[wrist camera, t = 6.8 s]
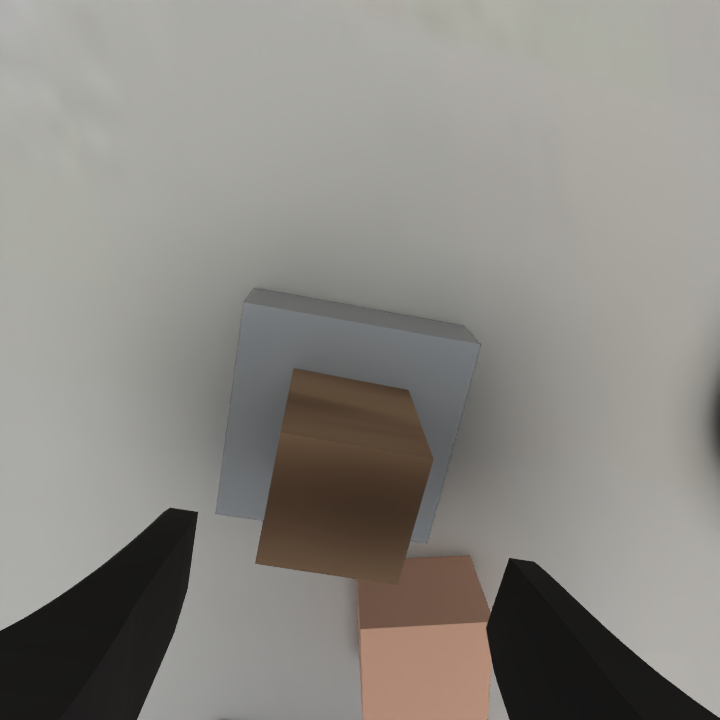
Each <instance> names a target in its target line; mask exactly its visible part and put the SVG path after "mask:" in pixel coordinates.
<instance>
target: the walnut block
mask: <svg viewBox="0 0 720 720" xmlns="http://www.w3.org/2000/svg"><path fill="white" fill-rule="evenodd" d="M433 460H434V459H433V456H432V453H431V451H430V448H429V445H428V442H427V440H426V437H425V434H424V431H423V429H422V426H421V423H420V420H419V418H418V415H417V412H416V409H415V407H414V404H413V401H412V398H411V396H410V393H409V390H406V389H401V388H396V387H390V386H385V385H380V384H375V383H369V382H364V381H359V380H354V379H348V378H343V377H338V376H333V375H327V374H322V373H317V372H312V371H306V370H301V369H296V368H294V369H293V374H292V379H291V384H290V389H289V394H288V398H287V403H286V408H285V413H284V418H283V423H282V428H281V432H280V438H279V443H278V448H277V453H276V458H275V463H274V469H273V474H272V479H271V484H270V489H269V495H268V500H267V505H266V510H265V515H264V520H263V526H262V531H261V536H260V541H259V546H258V551H257V557H256V562H255V564H261V565H267V566H274V567H281V568H287V569H294V570H301V571H307V572H314V573H321V574H327V575H334V576H341V577H347V578H354V579H361V580H367V581H374V582H381V583H387V584H394V585H398V581H399V578H400V574H401V571H402V568H403V564H404V561H405V557H406V554H407V550H408V547H409V543H410V540H411V536H412V533H413V529H414V526H415V522H416V519H417V515H418V512H419V508H420V505H421V502H422V498H423V495H424V491H425V488H426V484H427V481H428V477H429V474H430V470H431V467H432V463H433Z"/></svg>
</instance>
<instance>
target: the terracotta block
mask: <svg viewBox="0 0 720 720" xmlns="http://www.w3.org/2000/svg"><path fill="white" fill-rule="evenodd" d="M357 604H358V636H359V660H360V678H361V696H362V713H363V720H488V709H489V693H490V677H491V661H492V659H491V654H490V649H489V643H488V638H487V632H486V626H487V623H488V620H489V617H490V614H491V613H490V610H489V607H488V604H487V602H486V599H485V596H484V593H483V591H482V588H481V585H480V582H479V580H478V577H477V574H476V572H475V569H474V566H473V563H472V561H471V558H470V555H467V556H448V557H428V558H408V559H405V561H404V564H403V568H402V571H401V574H400V578H399V581H398V585H394V584H387V583H381V582H374V581H367V580H361V579H357Z"/></svg>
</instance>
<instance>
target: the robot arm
mask: <svg viewBox="0 0 720 720" xmlns="http://www.w3.org/2000/svg"><path fill="white" fill-rule="evenodd" d="M197 516H198V512H194V511H188V510H181V509H174V508H169V509H168V510H166V511H164V512H163V513H162V514H161V515H160V516H159V517H158V518H157V519H156V520H155V521H154V522H153V523H152V524H151V525H149V526H148V527H147V528H146V529H145V530H144V531H143V532H142V533H141V534H139V535H138V536H137V537H136V538H135V539H134V540H133V541H131V542H130V543H129V544H128V545H127V546H125V547H124V548H123V549H122V550H121V551H119V552H118V553H117V554H116V555H115V556H113V557H112V558H111V559H110V560H108V561H107V562H106V563H105V564H103V565H102V566H101V567H99V568H98V569H97V570H95V571H94V572H93V573H91V574H90V575H89V576H87V577H86V578H84V579H83V580H82V581H80V582H79V583H78V584H76V585H75V586H74V587H72V588H71V589H69V590H68V591H66V592H65V593H63V594H62V595H60V596H59V597H57V598H56V599H54V600H53V601H51V602H50V603H48V604H47V605H45V606H43V607H42V608H40V609H38V610H37V611H35V612H34V613H32V614H30V615H29V616H27V617H25V618H24V619H22V620H20V621H18V622H16V623H14V624H12V625H11V626H9V627H7V628H5V629H3V630H1V631H0V720H137V718H138V716H139V713H140V711H141V709H142V706H143V704H144V702H145V699H146V697H147V695H148V693H149V690H150V688H151V686H152V683H153V681H154V679H155V676H156V674H157V672H158V669H159V667H160V665H161V662H162V660H163V658H164V655H165V653H166V651H167V648H168V646H169V644H170V641H171V639H172V636H173V634H174V631H175V628H176V625H177V622H178V619H179V615H180V612H181V609H182V605H183V602H184V599H185V595H186V592H187V589H188V582H189V574H190V567H191V560H192V552H193V545H194V538H195V530H196V523H197ZM486 632H487V638H488V643H489V649H490V654H491V659H492V664H493V668H494V673H495V676H496V679H497V683H498V686H499V689H500V692H501V695H502V698H503V701H504V704H505V707H506V710H507V713H508V716H509V719H510V720H720V718H719V717H717V716H716V715H714V714H713V713H712V712H710V711H709V710H707V709H706V708H704V707H703V706H702V705H700V704H699V703H697V702H696V701H695V700H693V699H692V698H691V697H689V696H688V695H687V694H685V693H684V692H683V691H681V690H680V689H679V688H677V687H676V686H675V685H673V684H672V683H671V682H669V681H668V680H667V679H665V678H664V677H663V676H662V675H660V674H659V673H658V672H657V671H655V670H654V669H653V668H652V667H650V666H649V665H648V664H647V663H646V662H644V661H643V660H642V659H641V658H640V657H639V656H637V655H636V654H635V653H634V652H633V651H631V650H630V649H629V648H628V647H627V646H626V645H624V644H623V643H622V642H621V641H620V640H619V639H618V638H617V637H615V636H614V635H613V634H612V633H611V632H610V631H609V630H608V629H607V628H605V627H604V626H603V625H602V624H601V623H600V622H599V621H598V620H597V619H596V618H595V617H594V616H592V615H591V614H590V613H589V612H588V611H587V610H586V609H585V608H584V607H583V606H582V605H581V604H580V603H579V602H578V601H577V600H576V599H574V598H573V597H572V596H571V595H570V594H569V593H568V592H567V591H566V590H565V589H564V588H563V587H562V586H561V585H560V584H559V583H558V582H557V581H555V580H554V579H553V578H552V577H551V576H550V575H549V574H548V573H547V572H546V571H545V570H543V569H542V568H541V567H540V566H539V565H537V564H536V563H535V562H532V561H525V560H519V559H512V558H509V561H508V564H507V567H506V570H505V573H504V576H503V579H502V582H501V584H500V587H499V590H498V593H497V596H496V599H495V602H494V605H493V608H492V611H491V614H490V617H489V620H488V623H487V626H486Z"/></svg>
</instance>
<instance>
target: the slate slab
mask: <svg viewBox="0 0 720 720" xmlns="http://www.w3.org/2000/svg"><path fill="white" fill-rule="evenodd" d="M480 346H481V344H480V343H479V342H478V341H477V340H476V339H475V338H474V337H473V335H472V334H471V333H470V332H469V331H468V330H467V329H466V328H465V327H464V326H462V325H457V324H451V323H445V322H440V321H434V320H429V319H423V318H418V317H412V316H407V315H401V314H396V313H390V312H385V311H379V310H374V309H368V308H363V307H357V306H352V305H346V304H341V303H335V302H330V301H324V300H318V299H313V298H307V297H302V296H296V295H291V294H285V293H280V292H274V291H269V290H263V289H258V288H254V289H253V290H252V292H251V293H250V295H249V296H248V297H247V299H246V300H245V301H244V304H243V311H242V319H241V326H240V334H239V341H238V349H237V356H236V364H235V371H234V379H233V386H232V394H231V401H230V409H229V416H228V424H227V431H226V439H225V446H224V454H223V461H222V468H221V476H220V483H219V491H218V498H217V506H216V513H215V514H219V515H226V516H234V517H241V518H248V519H255V520H262V521H263V520H264V515H265V510H266V505H267V500H268V495H269V489H270V484H271V479H272V474H273V469H274V463H275V458H276V453H277V448H278V443H279V438H280V432H281V428H282V423H283V418H284V413H285V408H286V403H287V398H288V394H289V389H290V384H291V379H292V374H293V369H294V368H296V369H301V370H306V371H312V372H317V373H322V374H327V375H333V376H338V377H343V378H348V379H354V380H359V381H364V382H369V383H375V384H380V385H385V386H390V387H396V388H401V389H406V390H409V393H410V396H411V398H412V401H413V404H414V407H415V409H416V412H417V415H418V418H419V420H420V423H421V426H422V429H423V431H424V434H425V437H426V440H427V442H428V445H429V448H430V451H431V453H432V456H433V459H434V460H433V463H432V467H431V470H430V474H429V477H428V481H427V484H426V488H425V491H424V495H423V498H422V502H421V505H420V508H419V512H418V515H417V519H416V522H415V526H414V529H413V533H412V536H411V540H410V541H414V542H421V543H427V542H428V539H429V535H430V531H431V528H432V524H433V520H434V516H435V513H436V509H437V505H438V502H439V498H440V494H441V490H442V487H443V483H444V479H445V476H446V472H447V468H448V464H449V461H450V457H451V453H452V450H453V446H454V442H455V438H456V435H457V431H458V427H459V424H460V420H461V416H462V412H463V409H464V405H465V401H466V398H467V394H468V390H469V386H470V383H471V379H472V375H473V372H474V368H475V364H476V360H477V357H478V353H479V349H480Z"/></svg>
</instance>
